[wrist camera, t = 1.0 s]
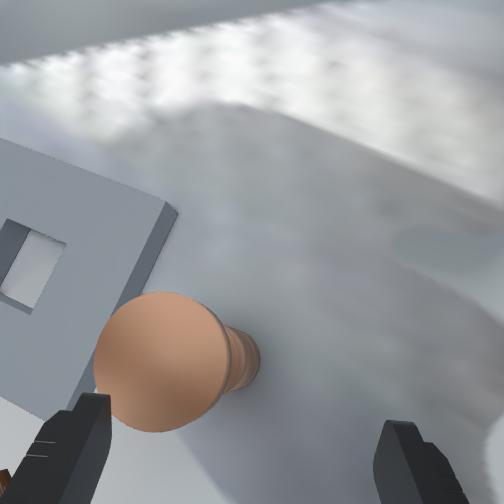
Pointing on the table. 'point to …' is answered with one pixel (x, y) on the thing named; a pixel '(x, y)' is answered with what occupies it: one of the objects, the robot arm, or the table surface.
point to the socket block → (69, 272)
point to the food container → (4, 480)
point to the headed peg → (169, 361)
